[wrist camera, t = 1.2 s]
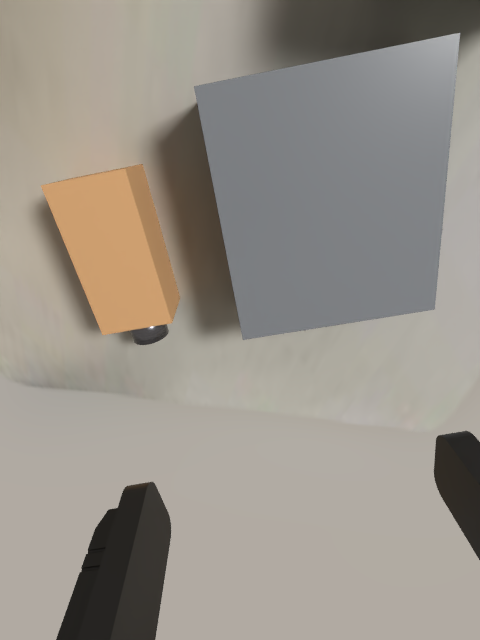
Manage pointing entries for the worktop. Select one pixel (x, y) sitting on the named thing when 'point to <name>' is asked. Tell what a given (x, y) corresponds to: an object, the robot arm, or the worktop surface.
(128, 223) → the block
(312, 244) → the stand
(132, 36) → the worktop surface
